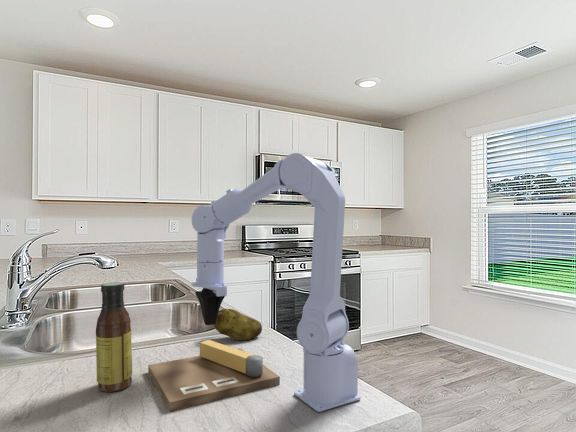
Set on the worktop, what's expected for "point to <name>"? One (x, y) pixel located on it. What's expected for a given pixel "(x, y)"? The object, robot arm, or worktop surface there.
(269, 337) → the worktop surface
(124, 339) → the sauce bottle
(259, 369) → the swing bar
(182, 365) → the label board
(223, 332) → the potato
